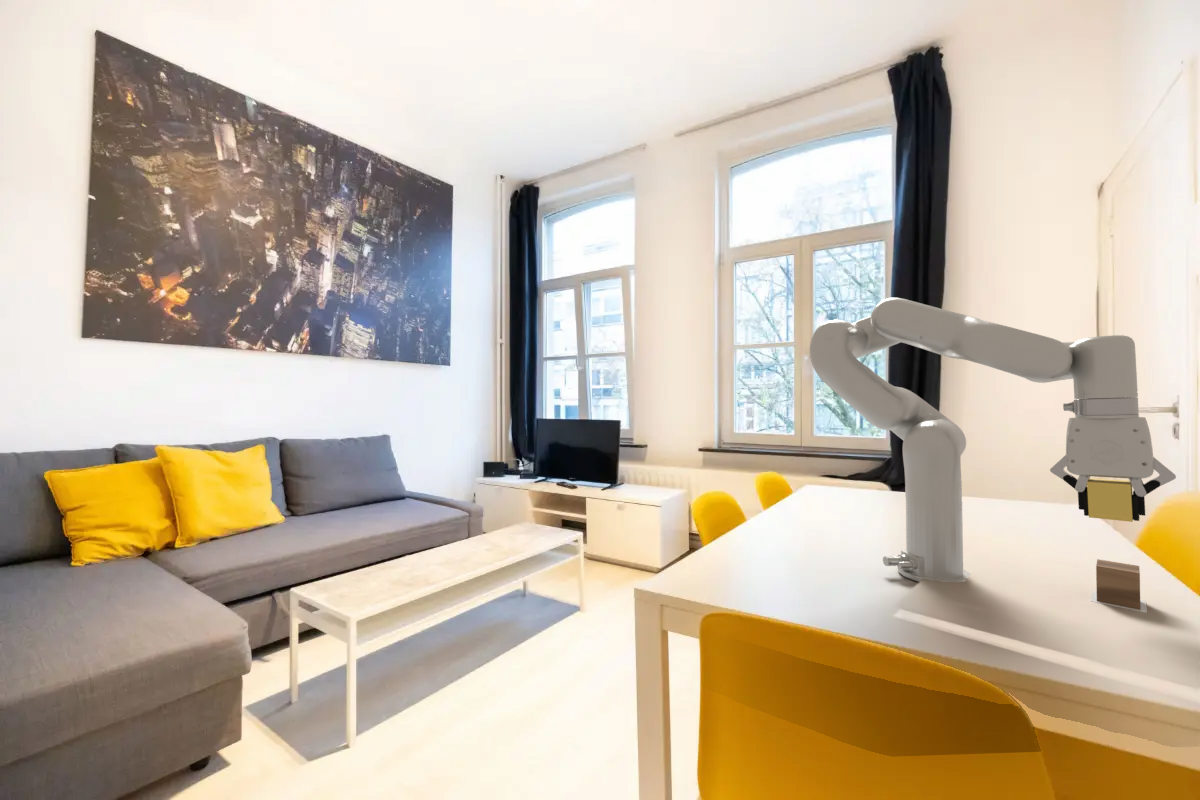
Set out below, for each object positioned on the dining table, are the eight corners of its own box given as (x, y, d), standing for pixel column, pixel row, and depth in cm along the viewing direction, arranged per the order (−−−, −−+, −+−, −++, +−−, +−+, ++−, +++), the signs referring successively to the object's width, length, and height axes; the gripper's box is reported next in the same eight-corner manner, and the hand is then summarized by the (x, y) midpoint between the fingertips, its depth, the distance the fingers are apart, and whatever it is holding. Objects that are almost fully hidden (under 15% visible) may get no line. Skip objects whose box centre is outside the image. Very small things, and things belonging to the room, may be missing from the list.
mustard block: (1132, 521, 79) (1130, 484, 79) (1088, 517, 83) (1087, 481, 83) (1133, 516, 82) (1131, 480, 82) (1091, 512, 86) (1089, 478, 86)
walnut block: (1140, 609, 80) (1139, 573, 80) (1096, 601, 84) (1096, 565, 84) (1139, 601, 83) (1139, 565, 83) (1097, 592, 87) (1097, 559, 87)
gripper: (1035, 410, 87) (1040, 513, 87) (1184, 408, 74) (1191, 529, 74) (1042, 409, 92) (1047, 507, 92) (1183, 407, 79) (1189, 520, 79)
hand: (1111, 515), depth 83 cm, fingers closed on mustard block, 5 cm apart
